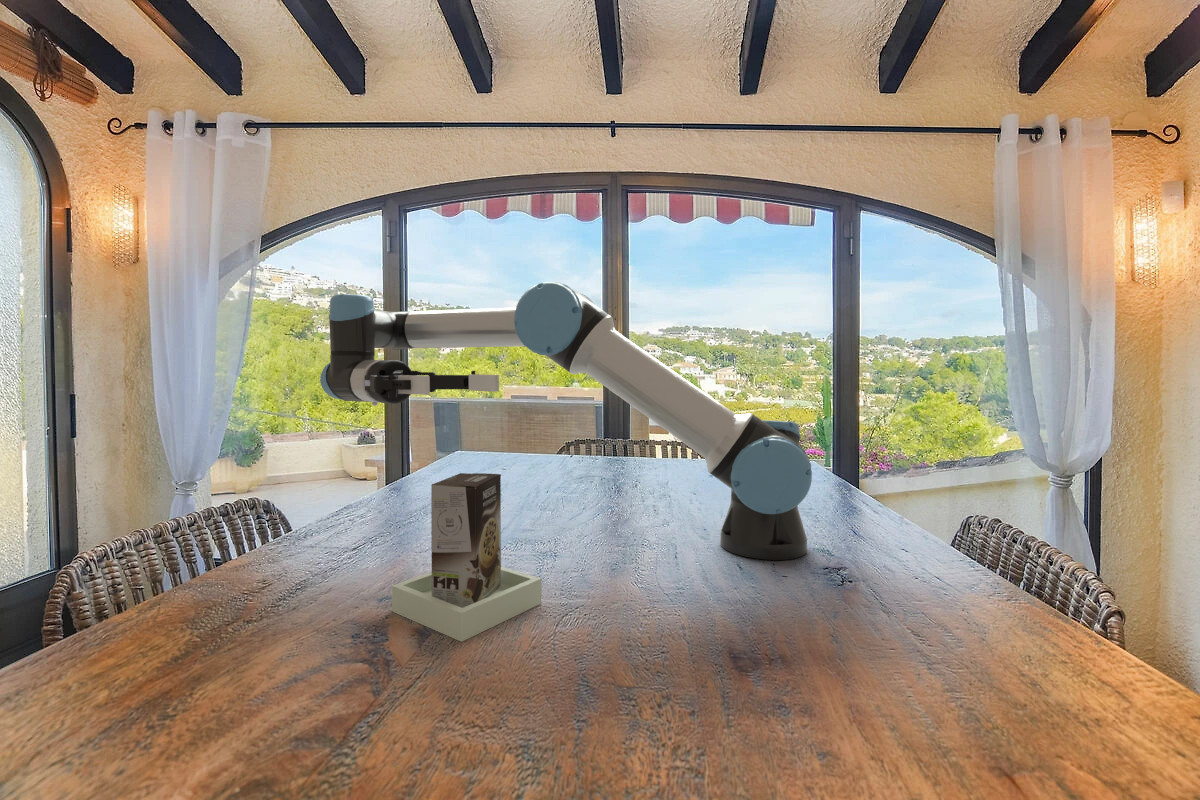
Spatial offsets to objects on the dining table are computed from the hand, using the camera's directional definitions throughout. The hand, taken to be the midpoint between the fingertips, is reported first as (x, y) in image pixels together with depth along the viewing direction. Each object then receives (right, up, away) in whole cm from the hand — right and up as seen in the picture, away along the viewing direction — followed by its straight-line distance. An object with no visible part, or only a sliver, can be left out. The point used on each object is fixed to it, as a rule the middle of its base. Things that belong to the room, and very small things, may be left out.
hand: (464, 384), depth 89 cm
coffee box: (+3, -29, -10) cm, 31 cm away
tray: (+3, -30, -10) cm, 32 cm away
